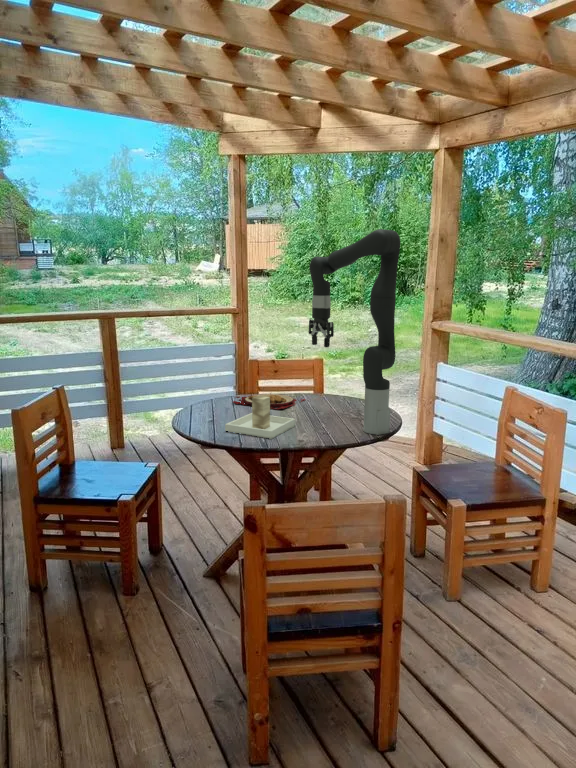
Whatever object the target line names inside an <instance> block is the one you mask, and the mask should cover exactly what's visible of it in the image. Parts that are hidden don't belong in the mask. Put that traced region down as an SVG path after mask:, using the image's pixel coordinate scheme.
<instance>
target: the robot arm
mask: <svg viewBox="0 0 576 768" xmlns="http://www.w3.org/2000/svg"><path fill="white" fill-rule="evenodd" d="M400 250H401V238H400V234H398V232H397V231H396V230H393V229H385V228H384V229H383V228H381V229H380V228H379V229H376V230H373V231H372V232H370V233H368V234H366V235H365V236H364V237H362V238H361V239H359V240H357V241H355V242H354V243H351V244H349V245H348V246H344V247H342V248H340V249H337V250H334V251H332V252H331V253H329V255H328V256H314V257H312V259H311V260H310V263H309V265H308V266H309V274H310V278H311V282H312V302H311V307H312V308H311V317H312V319H309V320H308V321H309V322H308V334H309V335H310V336H311V345H313V346H316V345H318V334H319V332H320V333H321V334H322V335H323V337H324V338H323V347H324V348H330V346H331V345H330V344H331V343H330V342H331V341H330V340H331V338H334V333H335V332H334V328H335V327H334V325H335V324H334V322H333V321H329V320H330V318H331V306H332V305H331V304H332V302H331V282H330V281H328V280H325V277H324V276H325V275H331V274H334V273H335V272H337V271H339V270H340V269H343V268H346V267H348V266H351V265H353V264H354V263H356V262H357V261H359V259H361V258H363V257H367V256H380V266H379V272H378V275H377V277H376V279H375V281H374V283H373V285H372V287H371V290H370V298H369V299H370V300H369V301H370V302H369V309H370V314H371V316H372V319H373V321H374V324H375V326H376V328H377V334H378V336H377V337H378V342H377V343H378V344H377V345H373V346H369V347H367V348H366V349H365V350H364V353H363V356H362V357H363V359H362V370H363V371H362V374H363V377H362V378H363V382H364V405H363V407H364V408H363V429H362V430H363V432H364V433H366V434H369V435H377V436H379V435H385V434H389V433H390V425H391V409H390V407H389V405H390V383H391V382H390V381H389V379H386V378H384V376H383V370H387V369H388V370H389V369H391V368H392V367H393V366H394V364H395V361H396V340H395V319H396V318H395V315H396V314H395V313H396V298H397V297H396V296H397V278H398V276H397V275H398V265H399V258H400V252H401V251H400Z"/></svg>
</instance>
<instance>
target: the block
mask: <svg viewBox="0 0 576 768" xmlns="http://www.w3.org/2000/svg"><path fill="white" fill-rule="evenodd" d="M251 404H252V406H251V413H252V428H258V429H266V428H268V427H270V415H271V409H270V397H267V396H256V397H254V398H252V403H251Z"/></svg>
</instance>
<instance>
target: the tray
mask: <svg viewBox="0 0 576 768" xmlns="http://www.w3.org/2000/svg"><path fill="white" fill-rule="evenodd" d="M294 427H296V418H293V417H291V418H290V417H285V416H279V415H278V416H277V415H271V414H270V427H268V428H266V429H258V428H252V412H251V413H248V414H245V415H243V416H241V417H239V418H236V419H234V420H232V421H229V422H227V423H225V424H224V429H225V431H229V432H235V433H234V434H236V433H241V434H240V435H242V434H246V435H245V436H248V435H252V436H251V437H254V436H257V437H256V438H260V437H263V438H262V439H266V438H269V439H268V440H272V439H274V438H276V437H278V436H280V435H282V434H284V433H285V432H287V431H289V430H291V429H292V428H294ZM225 431H224V432H225ZM229 432H228V433H229Z"/></svg>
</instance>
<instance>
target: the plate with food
mask: <svg viewBox="0 0 576 768" xmlns="http://www.w3.org/2000/svg"><path fill="white" fill-rule="evenodd" d="M256 396H267V397H270V410H284V409H287V408H288V407H294V405H296V401H298V399H295V398H293V397H291V396H289V395H284V394H280V393H279V394H277V393H274V394H273V393H268V394H267V393H265V394H264V393H263V394H261V393H259V394H254V395H249V396H235V398H236V399H239V400H233V401H232V404H235V405H242V406H251V407H252V398H254V397H256ZM237 401H241V403H240V402H237ZM304 401H306V398H301V399H300V400H299V403H302V402H304ZM244 403H245V404H244Z"/></svg>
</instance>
